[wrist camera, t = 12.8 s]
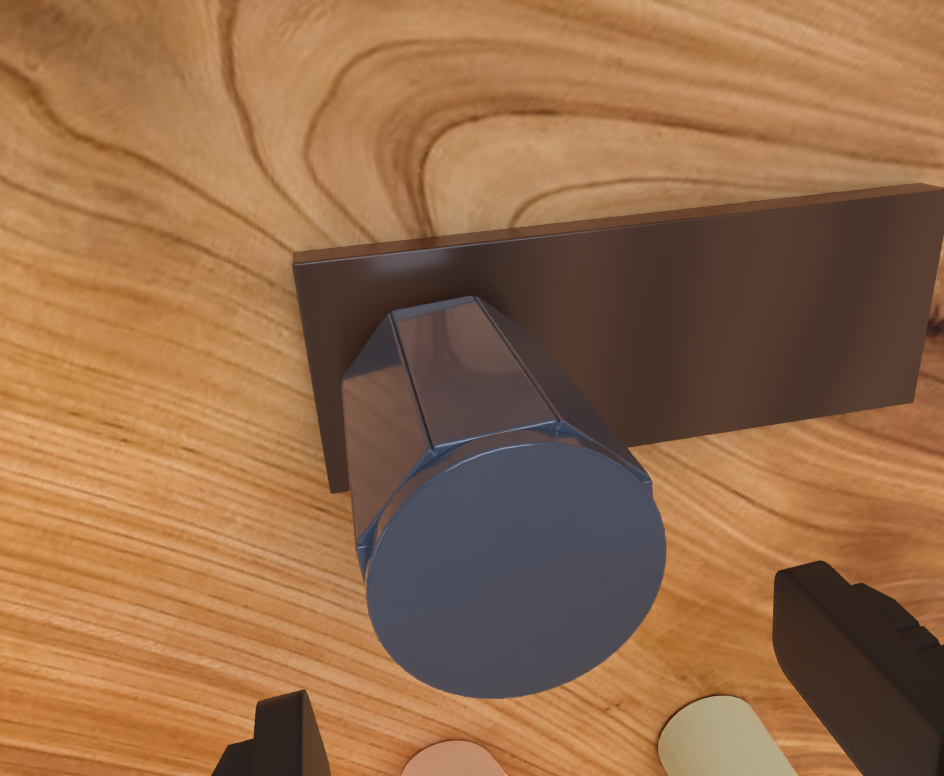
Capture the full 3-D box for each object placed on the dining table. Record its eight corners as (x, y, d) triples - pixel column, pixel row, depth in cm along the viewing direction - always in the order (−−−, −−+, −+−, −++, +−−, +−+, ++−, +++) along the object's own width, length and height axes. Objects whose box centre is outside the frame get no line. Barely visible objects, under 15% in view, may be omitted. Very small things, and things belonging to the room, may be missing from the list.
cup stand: (329, 473, 27) (340, 745, 16) (293, 252, 24) (277, 409, 13) (887, 388, 30) (1204, 568, 20) (921, 182, 27) (1323, 263, 16)
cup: (306, 426, 23) (303, 633, 14) (425, 259, 21) (494, 383, 13) (467, 514, 25) (543, 737, 17) (583, 369, 23) (726, 532, 15)
